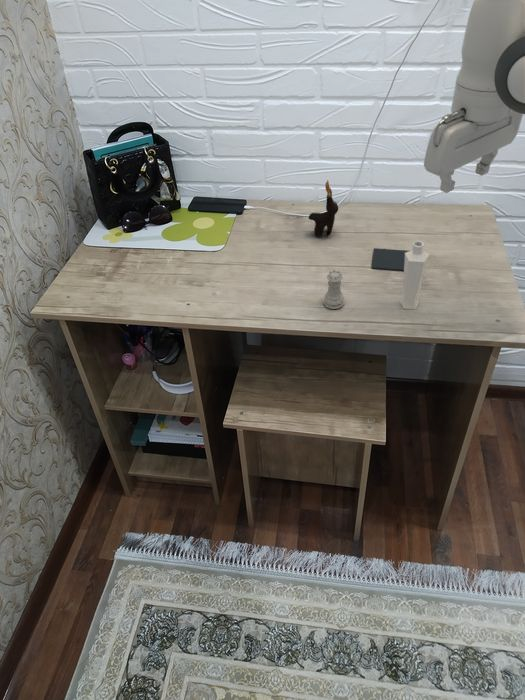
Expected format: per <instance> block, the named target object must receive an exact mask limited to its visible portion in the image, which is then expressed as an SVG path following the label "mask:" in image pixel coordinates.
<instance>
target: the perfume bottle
mask: <svg viewBox="0 0 525 700" xmlns="http://www.w3.org/2000/svg"><path fill="white" fill-rule="evenodd" d="M424 245H425V243H424V242H423V241H420V240H416V241H414V242H412V250H408V251H409V252H406V253H405V262H404V271H403V281H402V282H403V284H402V297H401V299H400V301H399V302H400V305H401V307H402V309H404V310H405V309H406V310H416V309H417V307H418V305H419V304H420V302H419V295H420V290H421V287H422V282H423V280H424V279H423V278H424V275H425V270H426V266H427V263H428V259H429V253H426V251H425V252H424V251H423V248H424Z"/></svg>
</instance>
